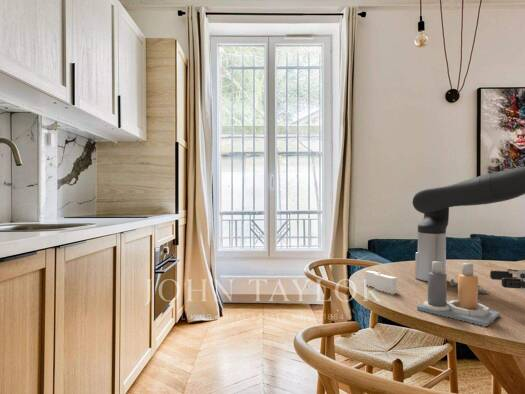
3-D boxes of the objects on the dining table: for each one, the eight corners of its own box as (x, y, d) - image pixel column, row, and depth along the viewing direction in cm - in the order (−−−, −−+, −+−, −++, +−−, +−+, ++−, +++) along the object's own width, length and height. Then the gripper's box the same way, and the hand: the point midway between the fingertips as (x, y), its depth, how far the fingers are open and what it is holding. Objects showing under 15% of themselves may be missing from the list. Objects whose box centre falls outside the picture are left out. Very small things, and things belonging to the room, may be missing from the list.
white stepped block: (405, 297, 103) (405, 278, 103) (367, 296, 104) (367, 277, 104) (392, 284, 118) (392, 268, 118) (359, 283, 119) (359, 267, 119)
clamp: (487, 291, 101) (449, 287, 106) (487, 298, 101) (449, 293, 106) (483, 280, 114) (450, 277, 119) (483, 287, 114) (450, 283, 119)
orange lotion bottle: (455, 309, 87) (455, 263, 87) (461, 306, 90) (461, 261, 90) (474, 314, 84) (474, 266, 84) (480, 310, 87) (480, 263, 87)
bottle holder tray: (416, 310, 90) (416, 261, 90) (433, 301, 97) (433, 256, 97) (486, 327, 78) (486, 271, 78) (499, 316, 85) (499, 264, 85)
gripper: (560, 262, 86) (486, 258, 91) (594, 273, 73) (506, 269, 78) (560, 291, 86) (487, 286, 91) (594, 308, 73) (506, 301, 78)
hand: (496, 278), depth 85 cm, fingers open, 8 cm apart
